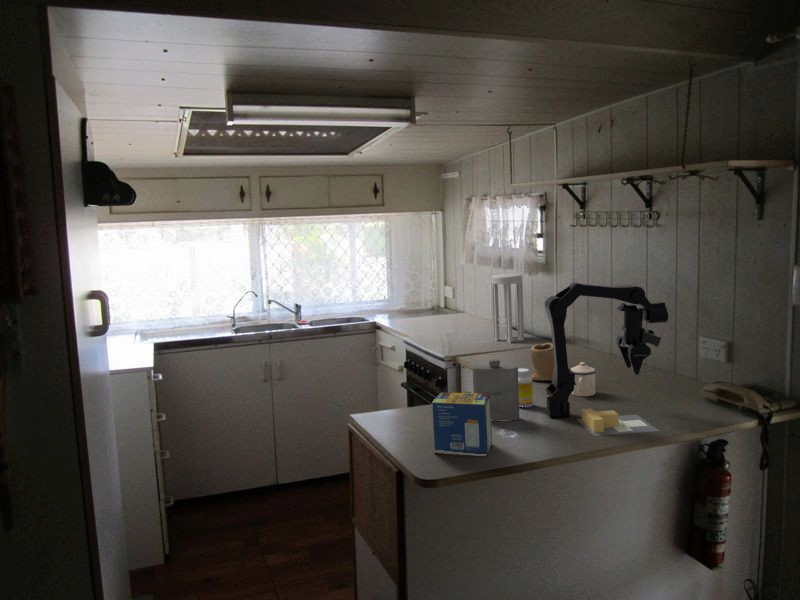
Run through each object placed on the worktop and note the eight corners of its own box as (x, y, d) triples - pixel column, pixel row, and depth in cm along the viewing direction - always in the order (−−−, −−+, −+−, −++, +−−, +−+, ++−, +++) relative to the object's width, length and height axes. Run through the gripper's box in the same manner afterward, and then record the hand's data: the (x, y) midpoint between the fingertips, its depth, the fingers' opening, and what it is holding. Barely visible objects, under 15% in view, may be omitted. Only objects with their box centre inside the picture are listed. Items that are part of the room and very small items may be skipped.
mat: (593, 436, 188) (593, 435, 188) (576, 419, 204) (576, 418, 204) (659, 431, 189) (659, 430, 189) (636, 415, 205) (636, 414, 205)
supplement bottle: (536, 406, 220) (535, 370, 218) (519, 409, 218) (518, 373, 217) (527, 401, 226) (526, 366, 225) (510, 404, 225) (509, 369, 223)
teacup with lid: (572, 389, 239) (571, 359, 237) (597, 390, 235) (596, 360, 234) (567, 398, 228) (566, 366, 226) (593, 400, 224) (593, 367, 223)
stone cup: (526, 383, 251) (525, 346, 249) (533, 375, 261) (532, 340, 259) (565, 385, 244) (564, 347, 242) (571, 378, 255) (570, 341, 253)
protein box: (441, 441, 192) (439, 391, 190) (492, 444, 187) (490, 393, 185) (433, 454, 182) (431, 402, 180) (487, 457, 177) (484, 403, 175)
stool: (507, 336, 347) (505, 273, 342) (529, 339, 335) (527, 274, 330) (488, 341, 338) (485, 275, 333) (510, 344, 325) (507, 277, 321)
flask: (472, 420, 209) (470, 361, 207) (475, 415, 215) (473, 357, 212) (518, 422, 205) (516, 362, 202) (520, 416, 210) (518, 358, 208)
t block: (594, 432, 191) (594, 419, 190) (581, 421, 202) (581, 409, 201) (623, 430, 191) (623, 417, 191) (609, 419, 202) (609, 407, 201)
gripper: (668, 328, 195) (667, 377, 197) (649, 318, 213) (649, 363, 215) (631, 329, 196) (630, 378, 198) (616, 319, 214) (615, 364, 216)
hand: (632, 371), depth 207 cm, fingers open, 9 cm apart
